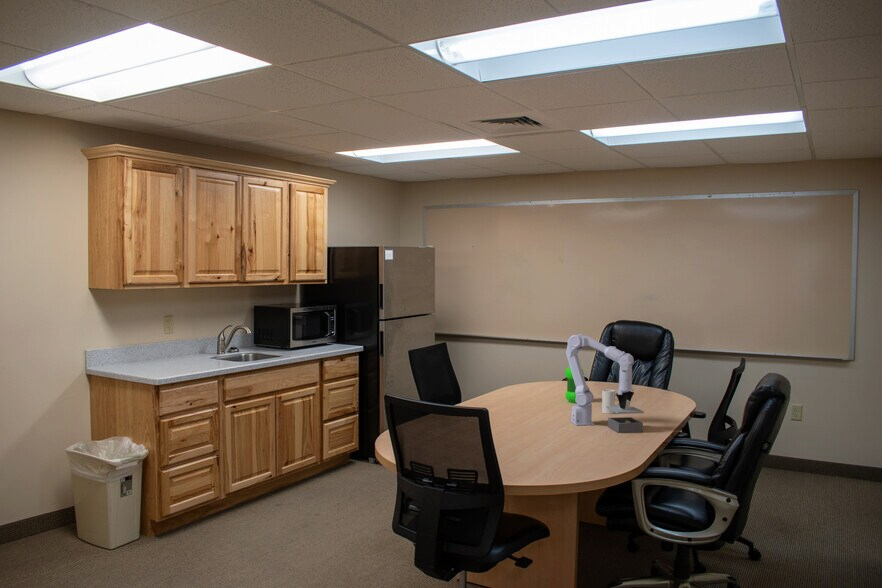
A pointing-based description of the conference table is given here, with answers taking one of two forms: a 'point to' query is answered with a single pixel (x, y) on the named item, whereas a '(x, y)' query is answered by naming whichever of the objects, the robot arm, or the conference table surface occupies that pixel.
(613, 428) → the bin
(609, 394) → the mug
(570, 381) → the plastic bottle
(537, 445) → the conference table surface
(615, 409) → the bin lid
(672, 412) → the conference table surface
